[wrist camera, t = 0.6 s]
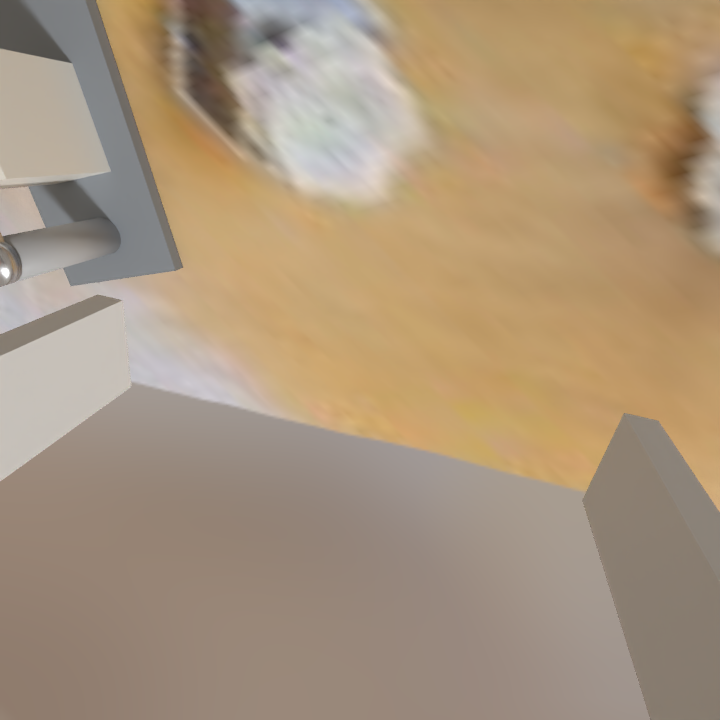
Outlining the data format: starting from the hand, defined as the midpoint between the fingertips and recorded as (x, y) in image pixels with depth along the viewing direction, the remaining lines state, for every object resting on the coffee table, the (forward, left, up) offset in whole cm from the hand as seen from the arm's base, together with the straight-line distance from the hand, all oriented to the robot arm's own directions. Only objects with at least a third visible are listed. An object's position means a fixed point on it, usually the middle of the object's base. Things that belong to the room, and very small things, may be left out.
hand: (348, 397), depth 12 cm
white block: (-13, -29, -27) cm, 42 cm away
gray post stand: (-13, -29, -28) cm, 42 cm away
